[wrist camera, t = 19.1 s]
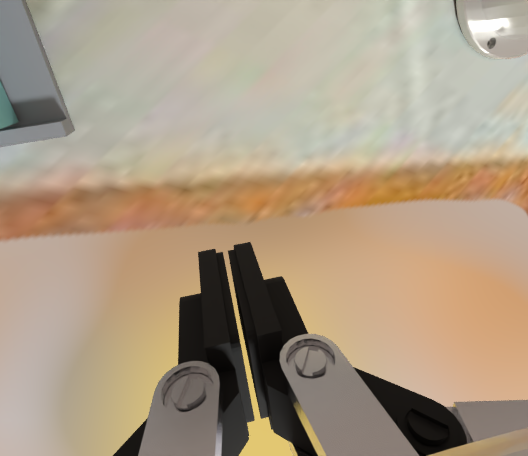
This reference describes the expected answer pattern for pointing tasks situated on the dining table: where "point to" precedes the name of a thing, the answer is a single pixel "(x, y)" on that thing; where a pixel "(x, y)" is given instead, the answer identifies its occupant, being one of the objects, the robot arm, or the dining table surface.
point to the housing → (28, 80)
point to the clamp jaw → (6, 110)
